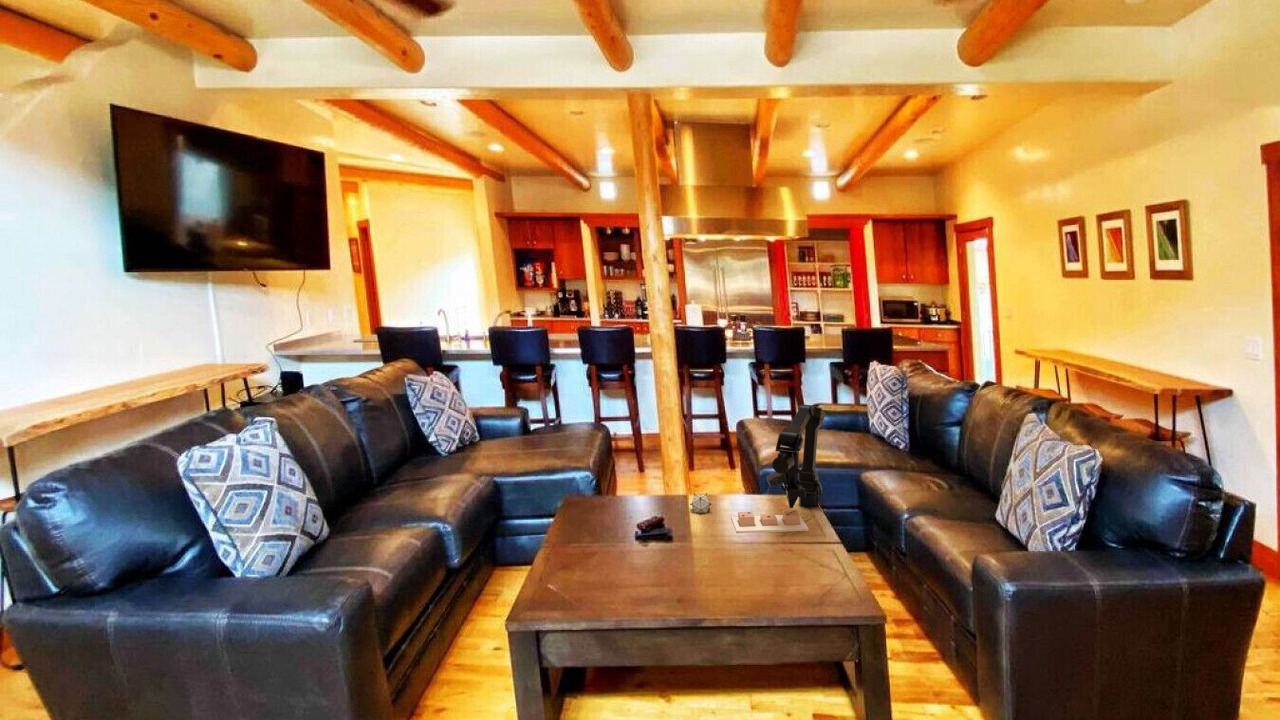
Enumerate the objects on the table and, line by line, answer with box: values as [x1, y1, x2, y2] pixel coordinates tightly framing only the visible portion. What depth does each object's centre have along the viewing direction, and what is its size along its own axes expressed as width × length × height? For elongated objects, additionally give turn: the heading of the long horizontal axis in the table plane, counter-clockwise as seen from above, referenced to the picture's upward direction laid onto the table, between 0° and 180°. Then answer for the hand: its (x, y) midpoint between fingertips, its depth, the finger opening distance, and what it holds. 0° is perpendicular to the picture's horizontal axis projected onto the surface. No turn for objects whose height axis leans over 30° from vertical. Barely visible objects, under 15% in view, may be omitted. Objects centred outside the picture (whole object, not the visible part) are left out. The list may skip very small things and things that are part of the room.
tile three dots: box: [782, 509, 801, 525], centre depth 216 cm, size 5×5×4 cm
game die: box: [689, 492, 713, 514], centre depth 231 cm, size 9×8×10 cm
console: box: [730, 514, 810, 534], centre depth 216 cm, size 25×13×2 cm, turn 89°
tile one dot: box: [759, 513, 777, 526], centre depth 216 cm, size 5×5×4 cm
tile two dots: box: [737, 511, 755, 527], centre depth 216 cm, size 5×5×4 cm
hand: (791, 507), depth 216 cm, fingers closed
